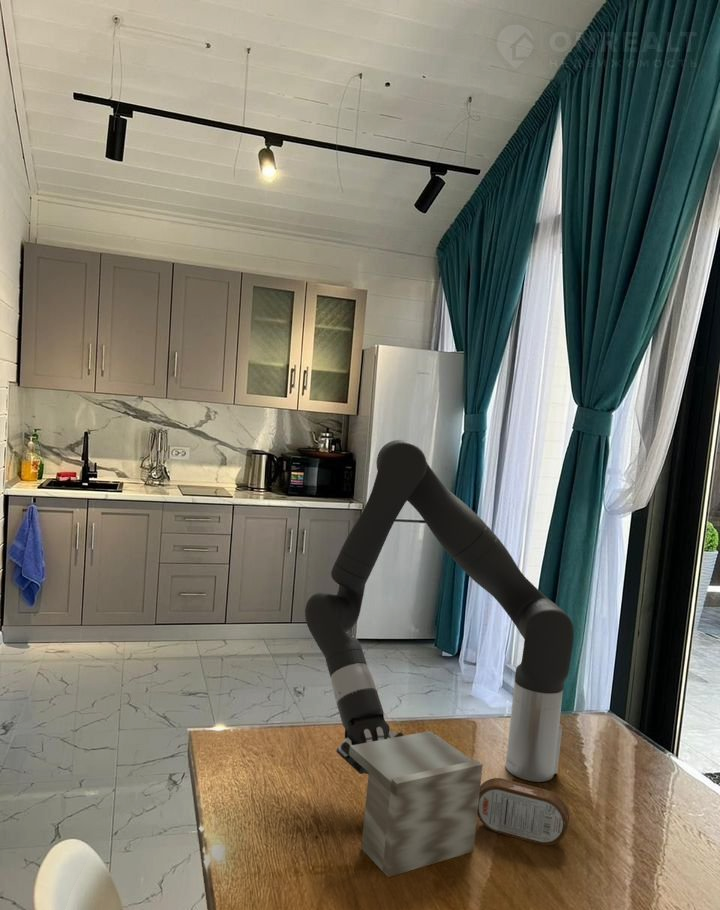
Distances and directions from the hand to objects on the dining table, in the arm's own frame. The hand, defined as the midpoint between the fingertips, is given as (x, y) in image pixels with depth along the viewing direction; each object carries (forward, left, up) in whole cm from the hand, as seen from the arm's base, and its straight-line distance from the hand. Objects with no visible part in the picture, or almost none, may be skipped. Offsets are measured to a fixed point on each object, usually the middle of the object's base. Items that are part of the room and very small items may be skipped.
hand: (386, 795), depth 120 cm
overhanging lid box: (0, +6, -4) cm, 7 cm away
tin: (-18, +13, -4) cm, 22 cm away
